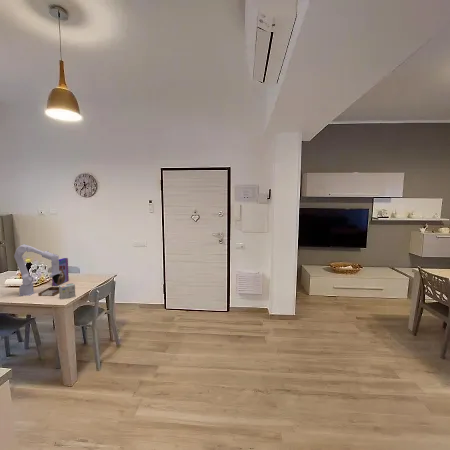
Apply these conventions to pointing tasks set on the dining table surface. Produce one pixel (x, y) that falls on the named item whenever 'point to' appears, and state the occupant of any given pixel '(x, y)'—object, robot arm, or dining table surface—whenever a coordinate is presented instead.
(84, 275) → the dining table surface
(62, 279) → the cereal box
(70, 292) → the light bulb box
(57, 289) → the walnut box
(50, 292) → the cover plate
